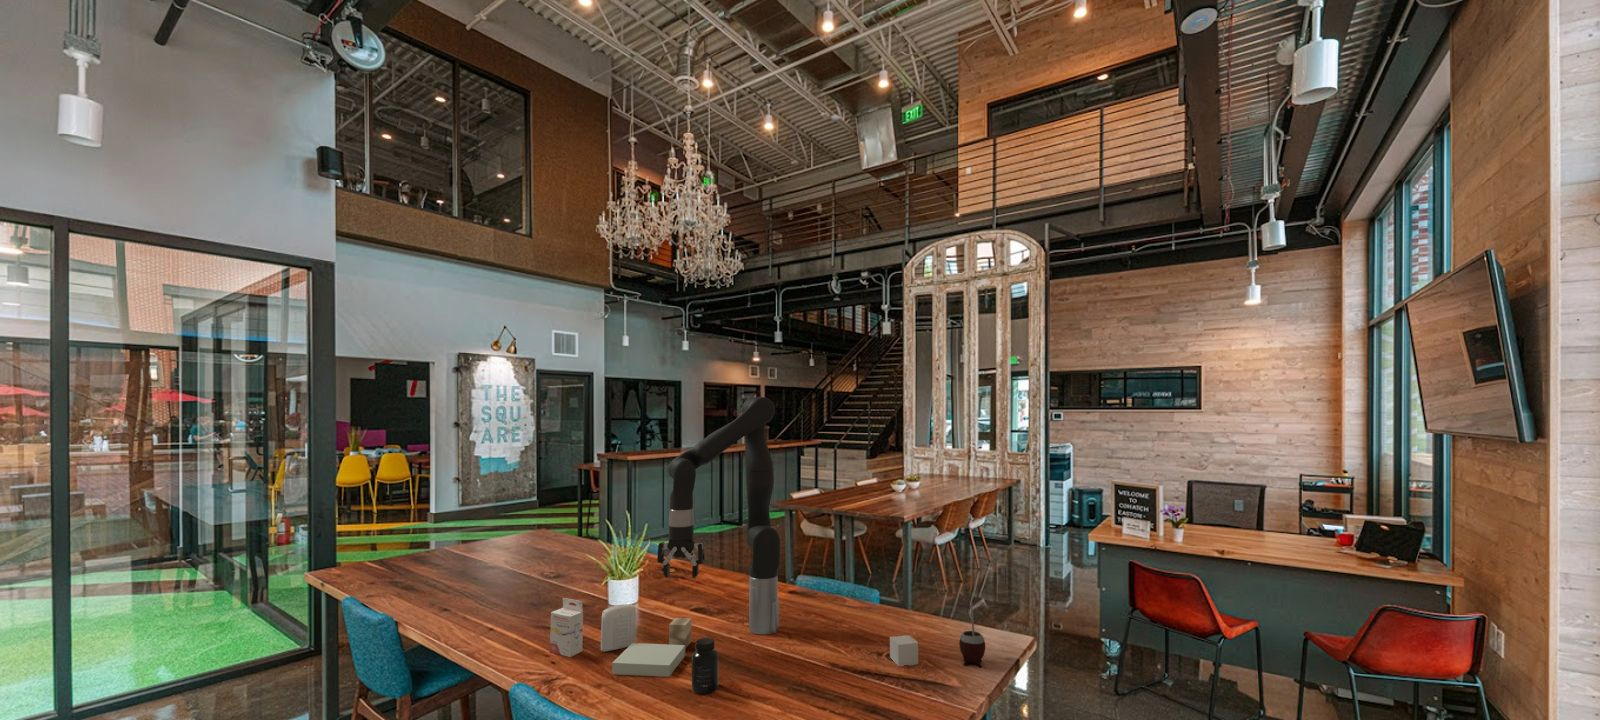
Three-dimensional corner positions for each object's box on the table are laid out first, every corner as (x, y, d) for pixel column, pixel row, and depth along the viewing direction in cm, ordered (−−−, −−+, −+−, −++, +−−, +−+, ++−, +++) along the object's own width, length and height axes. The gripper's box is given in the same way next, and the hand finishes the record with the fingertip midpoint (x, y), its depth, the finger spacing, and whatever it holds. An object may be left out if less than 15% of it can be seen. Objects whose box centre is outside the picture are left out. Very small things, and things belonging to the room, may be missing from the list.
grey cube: (909, 656, 179) (909, 635, 179) (918, 664, 173) (918, 642, 173) (889, 658, 177) (889, 637, 178) (898, 667, 171) (898, 644, 172)
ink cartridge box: (548, 652, 182) (549, 601, 184) (561, 646, 187) (562, 597, 188) (570, 657, 179) (571, 605, 180) (583, 651, 183) (584, 600, 184)
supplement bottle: (692, 683, 162) (693, 636, 163) (719, 682, 162) (719, 635, 163) (690, 695, 155) (690, 646, 156) (717, 694, 155) (717, 645, 156)
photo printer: (632, 641, 191) (633, 600, 192) (637, 646, 187) (637, 604, 188) (598, 649, 185) (599, 606, 186) (602, 653, 182) (603, 610, 182)
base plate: (685, 655, 180) (685, 645, 180) (669, 676, 166) (669, 665, 166) (632, 653, 181) (632, 643, 182) (612, 674, 168) (612, 662, 168)
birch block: (691, 641, 191) (691, 618, 191) (685, 649, 185) (685, 625, 185) (675, 641, 191) (675, 617, 192) (669, 648, 185) (669, 624, 186)
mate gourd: (972, 670, 169) (970, 614, 170) (952, 660, 176) (951, 606, 177) (992, 665, 172) (990, 609, 173) (972, 655, 179) (971, 602, 180)
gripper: (707, 521, 193) (706, 574, 192) (663, 520, 195) (662, 573, 194) (700, 526, 186) (700, 581, 185) (654, 525, 188) (654, 580, 187)
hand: (680, 577), depth 189 cm, fingers open, 8 cm apart
